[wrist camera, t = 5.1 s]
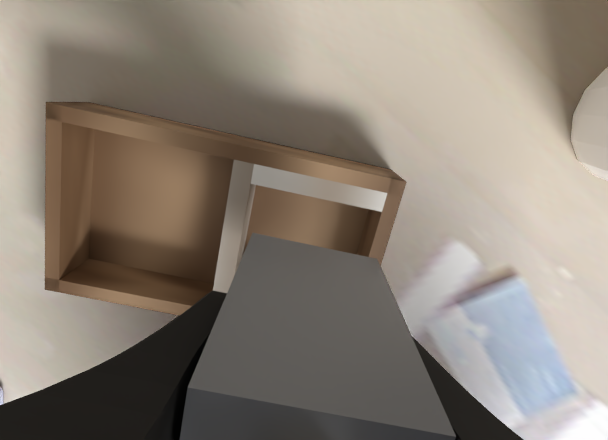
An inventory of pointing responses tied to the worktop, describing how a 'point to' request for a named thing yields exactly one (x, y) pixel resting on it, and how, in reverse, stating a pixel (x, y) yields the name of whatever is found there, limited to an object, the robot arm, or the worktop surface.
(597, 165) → the white cup
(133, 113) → the walnut box
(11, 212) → the worktop surface
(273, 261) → the plug
